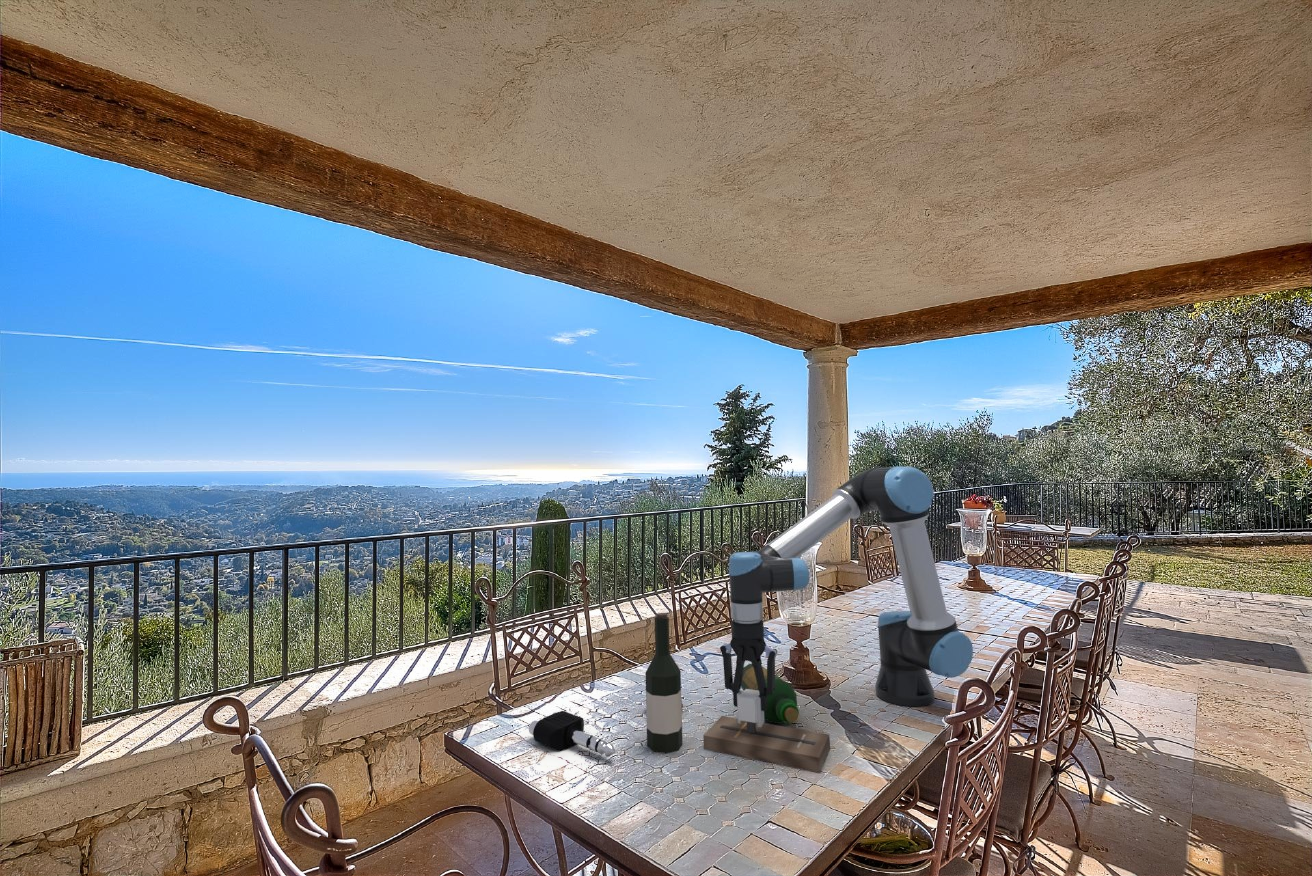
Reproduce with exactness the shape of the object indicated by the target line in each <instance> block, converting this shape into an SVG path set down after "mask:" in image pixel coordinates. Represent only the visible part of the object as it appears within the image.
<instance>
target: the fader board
mask: <svg viewBox="0 0 1312 876" xmlns="http://www.w3.org/2000/svg"><path fill="white" fill-rule="evenodd" d="M830 738H831V737H830V734H829V733H823V732H817V731H812V730H806V729H801V728H795V727H788V726H782V725H776V724H773V723H771V724H770V723H766V722H764V724H763V725H762V726H761V727H758V721H756V731H755V732H754V733H749V732H747V721H743V722H742V723H741V724H740V723H738V717H731V716H726V715H725V716H724V715H721V716H720V717H719V718H718V719H717V721H716V722H714V723H713V725H712V726H711V727H710V728H709V729H708V730H707V731H706V732H705V733H704V734H703V749H704V750H707V751H708V750H709V751H713V752H718V753H722V754H726V755H731V756H737V757H742V758H746V759H750V760H751V759H752V760H758V761H760V762H764V763H765V762H766V763H771V764H775V765H776V764H777V765H781V766H785V767H791V768H796V769H801V770H804V771H810V772H815V773H821V770H822V768H823V765H824V763H825V760H826V759H827V757H828V754H829V752H830V750H831V739H830Z"/></svg>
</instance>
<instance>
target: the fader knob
mask: <svg viewBox="0 0 1312 876" xmlns="http://www.w3.org/2000/svg"><path fill="white" fill-rule="evenodd" d="M742 691H743V690H742ZM758 695H759V691H758V690H751V689H745V690H744V691H743V692H742V693H741V694H740V695H739V696H738V710H737V719H738V720H741V721H747V732H749V733H754V732H755V731H756V722H758V718H757V696H758Z"/></svg>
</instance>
